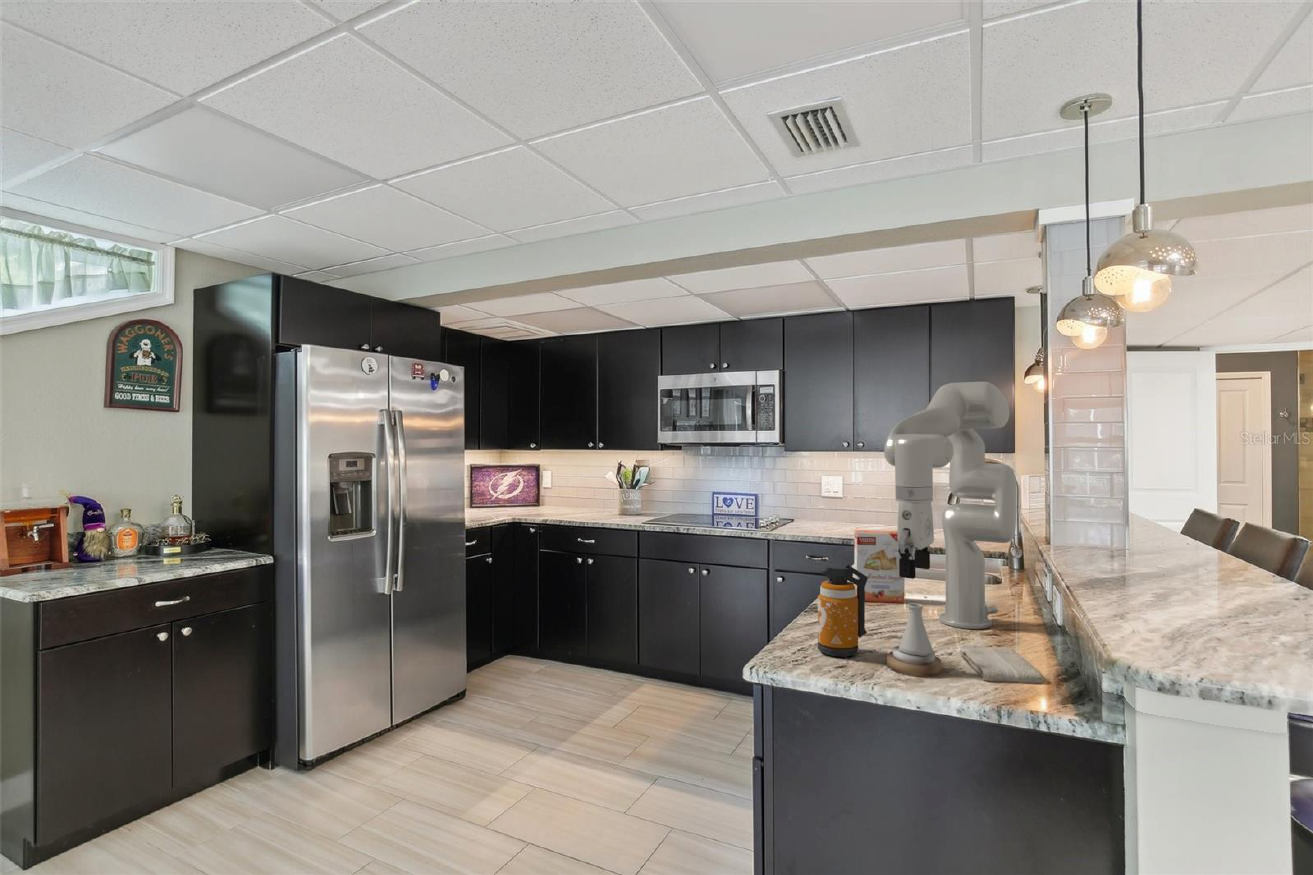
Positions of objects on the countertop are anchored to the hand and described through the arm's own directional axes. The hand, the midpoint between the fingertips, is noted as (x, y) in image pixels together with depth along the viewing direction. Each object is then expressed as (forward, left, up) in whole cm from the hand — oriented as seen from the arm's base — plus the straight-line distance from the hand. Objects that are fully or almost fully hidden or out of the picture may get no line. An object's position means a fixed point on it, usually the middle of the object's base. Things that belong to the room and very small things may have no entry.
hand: (914, 572), depth 145 cm
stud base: (+1, 0, -20) cm, 20 cm away
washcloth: (-16, +7, -21) cm, 27 cm away
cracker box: (-31, -50, -21) cm, 62 cm away
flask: (0, +1, -17) cm, 17 cm away
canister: (+9, -14, -21) cm, 26 cm away
